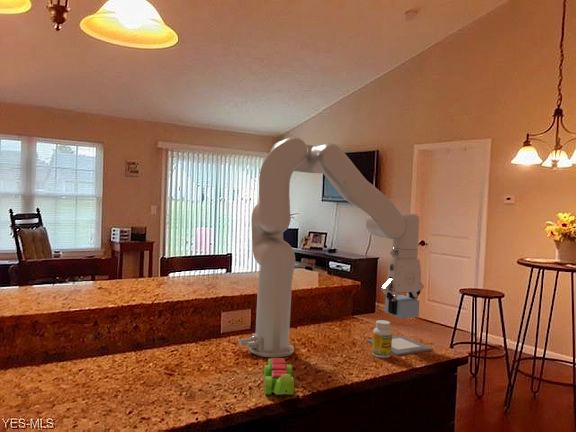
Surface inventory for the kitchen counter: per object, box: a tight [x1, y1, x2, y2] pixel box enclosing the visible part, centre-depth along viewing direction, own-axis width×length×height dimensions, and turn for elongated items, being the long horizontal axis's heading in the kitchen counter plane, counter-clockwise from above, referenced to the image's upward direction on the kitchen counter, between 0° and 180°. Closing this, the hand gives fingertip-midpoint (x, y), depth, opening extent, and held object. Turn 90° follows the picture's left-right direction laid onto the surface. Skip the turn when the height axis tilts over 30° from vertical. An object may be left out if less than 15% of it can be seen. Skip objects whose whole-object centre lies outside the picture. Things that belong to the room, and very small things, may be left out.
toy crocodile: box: [263, 357, 295, 396], centre depth 111 cm, size 20×7×6 cm, turn 4°
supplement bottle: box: [371, 319, 393, 359], centre depth 137 cm, size 5×5×10 cm
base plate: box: [366, 334, 434, 357], centre depth 147 cm, size 14×14×1 cm
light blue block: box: [384, 294, 420, 320], centre depth 147 cm, size 6×8×5 cm
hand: (401, 312), depth 147 cm, fingers closed on light blue block, 6 cm apart
